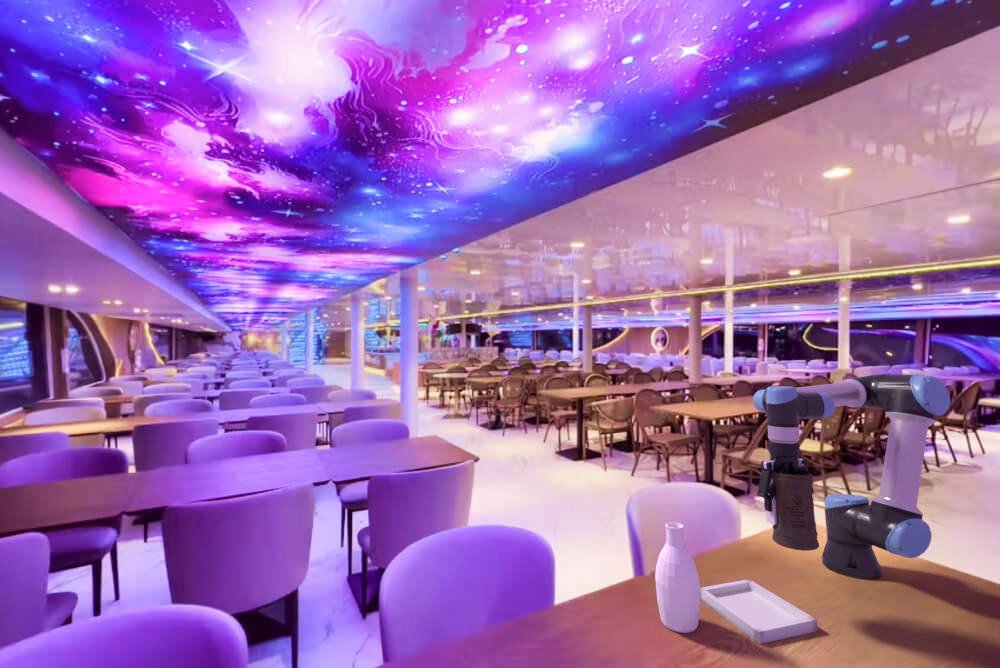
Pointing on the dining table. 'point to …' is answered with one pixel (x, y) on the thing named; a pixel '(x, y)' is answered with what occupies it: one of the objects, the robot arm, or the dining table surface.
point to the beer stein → (795, 511)
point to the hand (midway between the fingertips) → (787, 521)
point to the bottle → (677, 583)
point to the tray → (757, 611)
